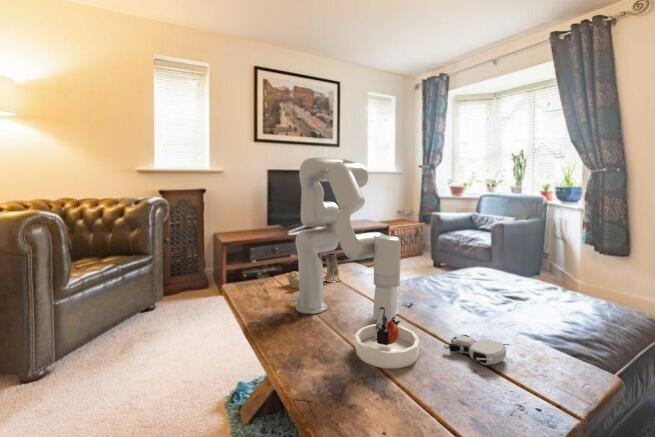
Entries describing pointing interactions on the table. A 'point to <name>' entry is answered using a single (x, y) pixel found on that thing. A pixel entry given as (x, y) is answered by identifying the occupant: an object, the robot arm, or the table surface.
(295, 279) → the cat figurine
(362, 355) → the fruit bowl
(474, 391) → the table surface
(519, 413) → the table surface
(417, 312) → the table surface
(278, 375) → the table surface
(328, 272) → the tree stump
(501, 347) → the robot toy
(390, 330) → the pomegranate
